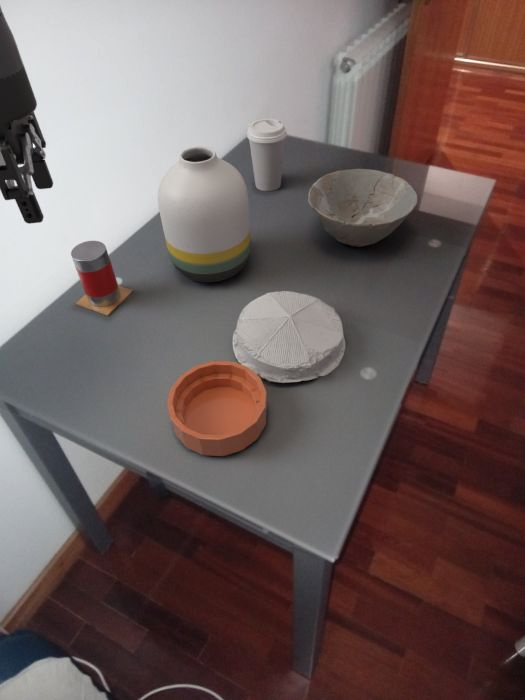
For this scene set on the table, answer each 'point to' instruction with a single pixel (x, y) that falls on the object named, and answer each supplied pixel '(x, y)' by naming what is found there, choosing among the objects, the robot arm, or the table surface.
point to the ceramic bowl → (361, 204)
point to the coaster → (108, 309)
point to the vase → (205, 216)
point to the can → (96, 273)
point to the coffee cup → (267, 152)
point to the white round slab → (289, 337)
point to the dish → (218, 408)
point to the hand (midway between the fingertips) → (40, 203)
